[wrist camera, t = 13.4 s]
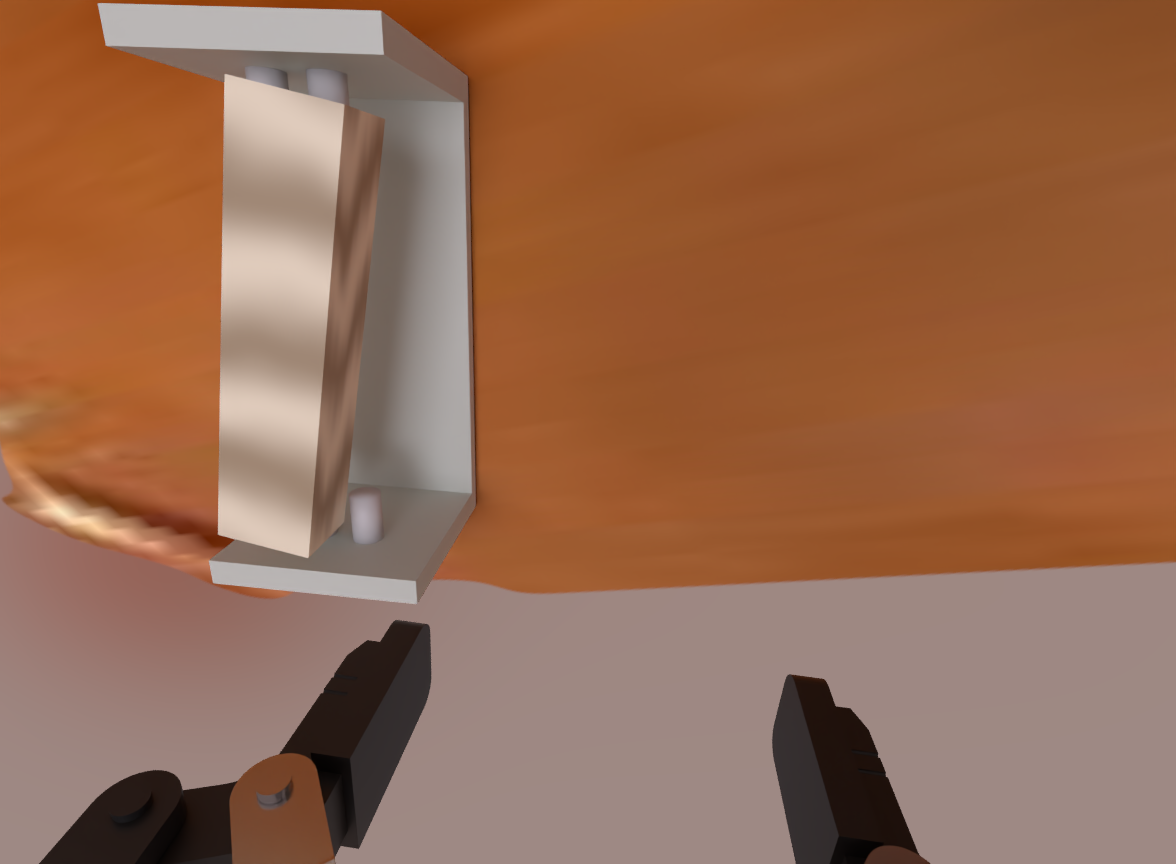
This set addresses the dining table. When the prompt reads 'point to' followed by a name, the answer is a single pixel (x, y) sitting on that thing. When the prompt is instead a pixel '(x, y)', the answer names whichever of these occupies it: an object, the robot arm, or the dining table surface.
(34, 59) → the dining table surface
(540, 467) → the dining table surface
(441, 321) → the grey c-shaped frame
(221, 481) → the shelf board
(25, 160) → the dining table surface
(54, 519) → the dining table surface
